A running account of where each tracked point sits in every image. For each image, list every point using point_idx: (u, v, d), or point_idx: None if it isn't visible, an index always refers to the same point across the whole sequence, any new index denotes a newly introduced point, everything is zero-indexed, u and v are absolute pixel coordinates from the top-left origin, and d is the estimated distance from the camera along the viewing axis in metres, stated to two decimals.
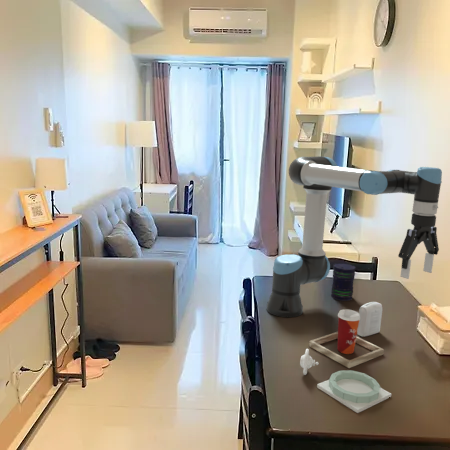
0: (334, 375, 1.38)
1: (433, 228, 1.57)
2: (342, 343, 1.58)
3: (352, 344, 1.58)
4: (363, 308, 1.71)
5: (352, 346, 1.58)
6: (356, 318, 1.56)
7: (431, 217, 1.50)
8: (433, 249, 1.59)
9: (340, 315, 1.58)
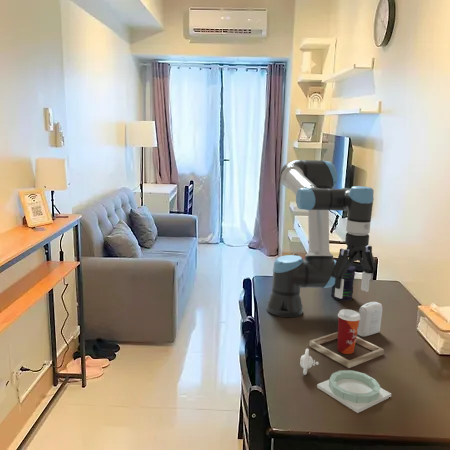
0: (334, 375, 1.38)
1: (368, 247, 1.56)
2: (342, 343, 1.58)
3: (352, 344, 1.58)
4: (363, 308, 1.71)
5: (352, 346, 1.58)
6: (356, 318, 1.56)
7: (363, 237, 1.50)
8: (369, 268, 1.58)
9: (340, 315, 1.58)
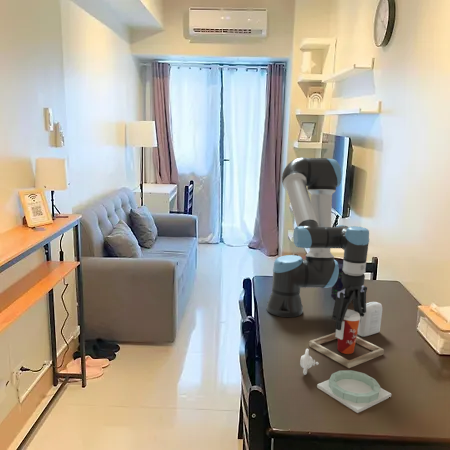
0: (334, 375, 1.38)
1: (364, 287, 1.59)
2: (342, 343, 1.58)
3: (352, 344, 1.58)
4: None
5: (352, 346, 1.58)
6: (356, 318, 1.56)
7: (359, 277, 1.52)
8: (360, 310, 1.60)
9: None
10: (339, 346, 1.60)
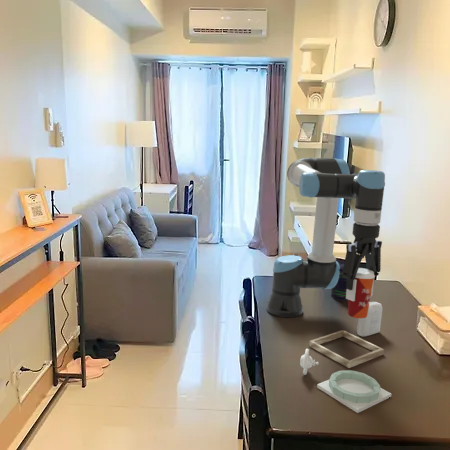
0: (334, 375, 1.38)
1: (378, 242, 1.39)
2: (354, 305, 1.37)
3: (365, 307, 1.37)
4: None
5: (365, 309, 1.37)
6: (370, 276, 1.35)
7: (373, 227, 1.32)
8: (374, 268, 1.39)
9: None
10: (350, 310, 1.39)
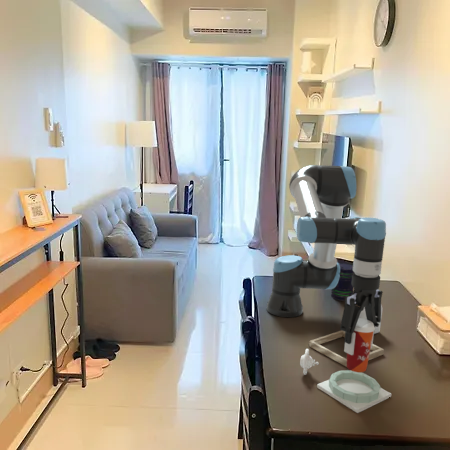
0: (334, 375, 1.38)
1: (378, 292, 1.32)
2: (352, 359, 1.31)
3: (365, 360, 1.30)
4: None
5: (365, 363, 1.31)
6: (370, 329, 1.28)
7: (373, 279, 1.25)
8: (374, 319, 1.32)
9: None
10: (349, 363, 1.32)
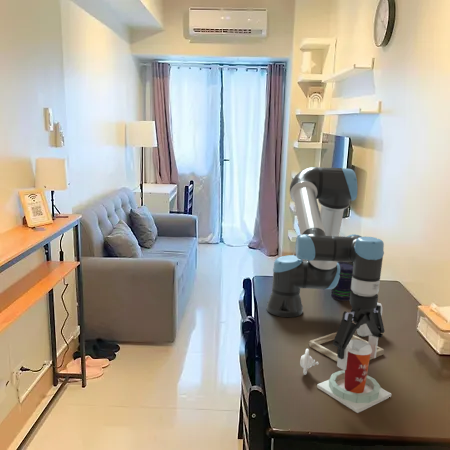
0: (334, 375, 1.38)
1: (376, 307, 1.33)
2: (350, 380, 1.32)
3: (362, 382, 1.32)
4: None
5: (362, 384, 1.32)
6: (367, 351, 1.30)
7: (371, 298, 1.26)
8: (377, 331, 1.35)
9: (348, 347, 1.32)
10: (347, 384, 1.34)
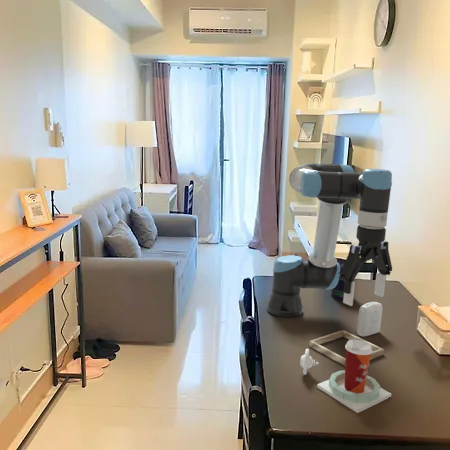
0: (334, 375, 1.38)
1: (384, 243, 1.29)
2: (350, 380, 1.32)
3: (362, 382, 1.32)
4: (363, 308, 1.71)
5: (362, 384, 1.32)
6: (367, 351, 1.30)
7: (379, 230, 1.22)
8: (385, 268, 1.31)
9: (348, 347, 1.32)
10: (347, 384, 1.34)
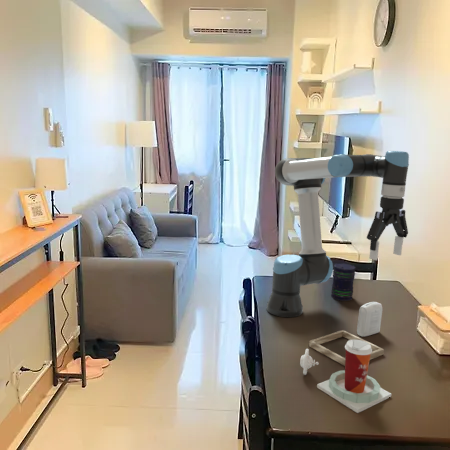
0: (334, 375, 1.38)
1: (402, 211, 1.61)
2: (350, 380, 1.32)
3: (362, 382, 1.32)
4: (363, 308, 1.71)
5: (362, 384, 1.32)
6: (367, 351, 1.30)
7: (398, 200, 1.54)
8: (402, 232, 1.62)
9: (348, 347, 1.32)
10: (347, 384, 1.34)
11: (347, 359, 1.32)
